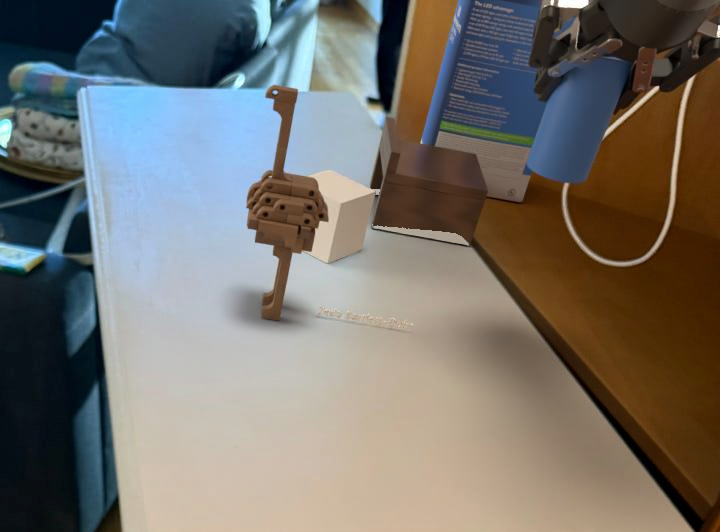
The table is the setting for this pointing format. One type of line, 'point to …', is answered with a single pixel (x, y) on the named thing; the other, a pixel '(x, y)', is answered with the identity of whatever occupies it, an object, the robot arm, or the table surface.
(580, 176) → the blue cylinder
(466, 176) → the dark brown wooden box
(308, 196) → the brown mechanical linkage
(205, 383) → the table surface
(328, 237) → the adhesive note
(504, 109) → the string lights box
